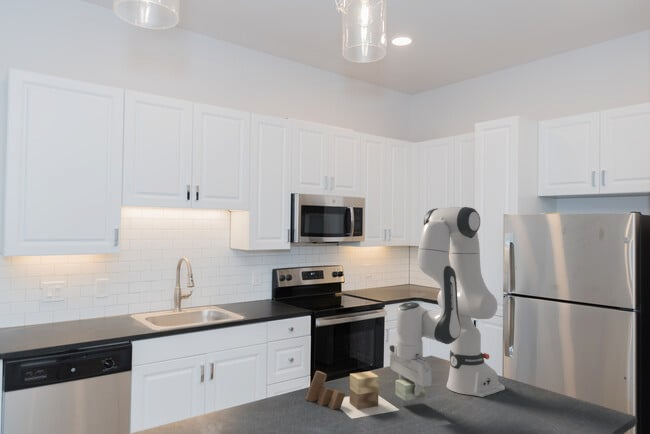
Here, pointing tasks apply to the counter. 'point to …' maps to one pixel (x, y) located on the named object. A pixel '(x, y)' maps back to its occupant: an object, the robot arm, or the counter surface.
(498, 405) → the counter surface
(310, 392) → the wooden block set
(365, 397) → the walnut base brick
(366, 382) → the oak brick
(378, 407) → the baseplate
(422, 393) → the sage brick
